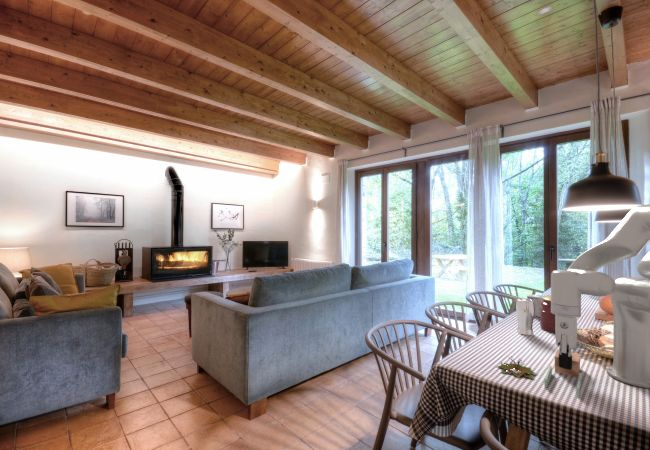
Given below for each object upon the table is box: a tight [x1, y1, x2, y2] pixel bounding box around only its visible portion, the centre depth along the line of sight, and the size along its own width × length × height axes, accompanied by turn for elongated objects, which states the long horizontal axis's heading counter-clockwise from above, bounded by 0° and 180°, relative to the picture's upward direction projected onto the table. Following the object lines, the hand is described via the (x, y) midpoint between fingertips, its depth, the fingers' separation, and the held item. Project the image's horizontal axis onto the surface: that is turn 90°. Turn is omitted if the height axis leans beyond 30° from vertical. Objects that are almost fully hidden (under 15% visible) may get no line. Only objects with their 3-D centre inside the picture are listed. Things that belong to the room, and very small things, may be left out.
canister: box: [539, 294, 555, 334], centre depth 141 cm, size 13×13×18 cm
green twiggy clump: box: [496, 357, 539, 380], centre depth 99 cm, size 12×12×5 cm
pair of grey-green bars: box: [544, 365, 582, 398], centre depth 91 cm, size 8×12×2 cm, turn 138°
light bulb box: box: [526, 293, 546, 318], centre depth 165 cm, size 11×7×11 cm, turn 58°
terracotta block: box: [554, 349, 581, 378], centre depth 101 cm, size 6×8×5 cm
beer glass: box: [515, 297, 535, 337], centre depth 136 cm, size 7×7×15 cm
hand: (565, 367), depth 96 cm, fingers closed
